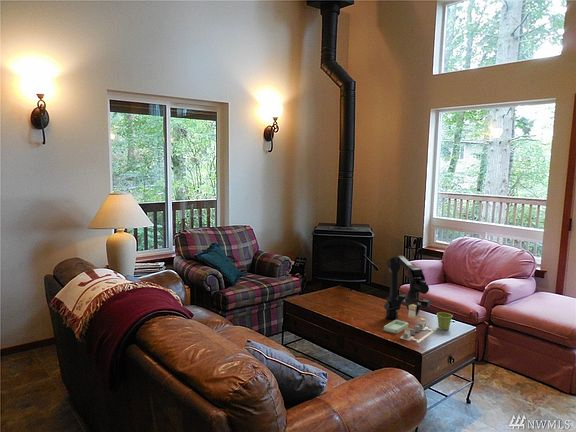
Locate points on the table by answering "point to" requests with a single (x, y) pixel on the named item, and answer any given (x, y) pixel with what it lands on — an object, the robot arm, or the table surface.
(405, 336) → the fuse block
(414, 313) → the block
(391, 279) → the robot arm
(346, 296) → the table surface
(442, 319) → the plant pot
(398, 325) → the tray
